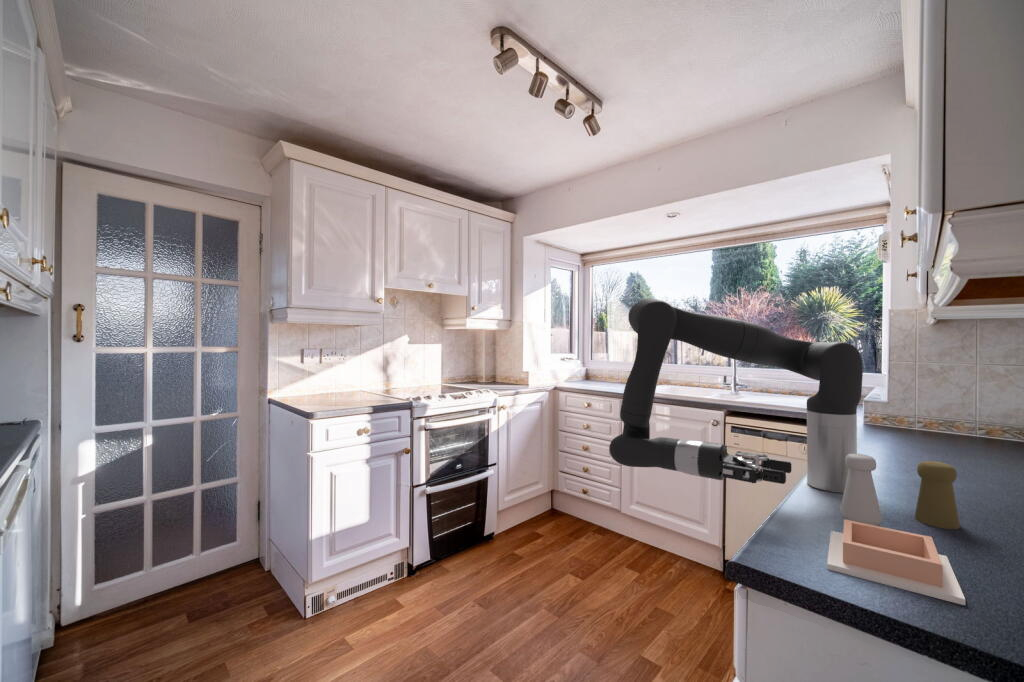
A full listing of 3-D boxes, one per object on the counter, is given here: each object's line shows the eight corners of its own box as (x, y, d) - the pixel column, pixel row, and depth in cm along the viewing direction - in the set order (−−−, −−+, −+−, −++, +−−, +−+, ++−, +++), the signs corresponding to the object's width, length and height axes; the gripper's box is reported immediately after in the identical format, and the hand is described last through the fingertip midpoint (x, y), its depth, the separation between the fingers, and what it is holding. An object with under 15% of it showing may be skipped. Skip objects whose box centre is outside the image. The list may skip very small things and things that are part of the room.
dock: (831, 535, 73) (831, 513, 73) (946, 561, 65) (946, 536, 65) (827, 569, 63) (827, 542, 63) (965, 605, 54) (965, 575, 54)
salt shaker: (876, 538, 72) (875, 461, 72) (835, 526, 77) (835, 454, 77) (886, 529, 76) (885, 455, 76) (846, 518, 80) (846, 449, 81)
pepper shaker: (968, 526, 77) (968, 465, 77) (947, 531, 75) (946, 468, 75) (927, 513, 83) (927, 456, 83) (906, 517, 81) (906, 459, 81)
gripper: (690, 447, 88) (783, 461, 78) (709, 435, 99) (792, 446, 89) (690, 484, 88) (784, 502, 78) (709, 468, 99) (793, 482, 89)
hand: (788, 472), depth 83 cm, fingers open, 8 cm apart
